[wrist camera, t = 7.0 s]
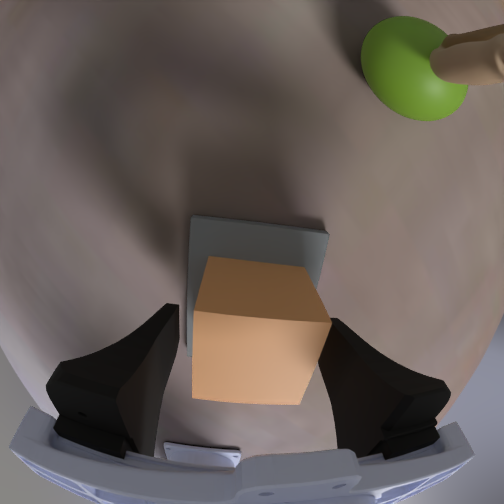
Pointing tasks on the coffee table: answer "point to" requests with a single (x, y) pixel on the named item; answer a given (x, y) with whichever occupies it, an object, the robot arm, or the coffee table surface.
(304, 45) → the coffee table surface
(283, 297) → the cube
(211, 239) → the mat
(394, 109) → the snail figurine
